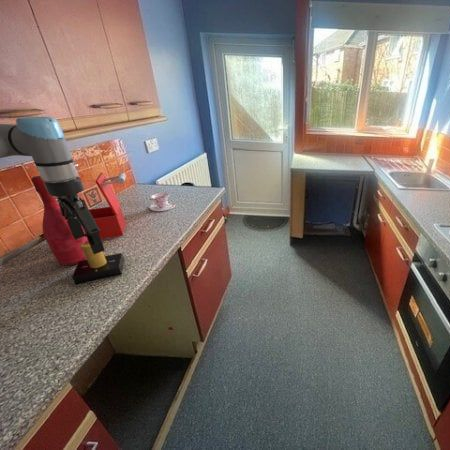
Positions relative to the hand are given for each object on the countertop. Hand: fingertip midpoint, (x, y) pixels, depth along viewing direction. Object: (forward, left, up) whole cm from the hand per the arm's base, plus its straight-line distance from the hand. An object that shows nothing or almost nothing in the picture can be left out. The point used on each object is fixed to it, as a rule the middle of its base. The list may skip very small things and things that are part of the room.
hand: (89, 244), depth 78 cm
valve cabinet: (-3, +30, -11) cm, 32 cm away
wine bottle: (-9, +12, -11) cm, 18 cm away
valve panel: (0, 0, -11) cm, 11 cm away
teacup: (+19, +49, -11) cm, 54 cm away
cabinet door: (+2, +30, +6) cm, 30 cm away
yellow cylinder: (0, 0, -8) cm, 8 cm away
